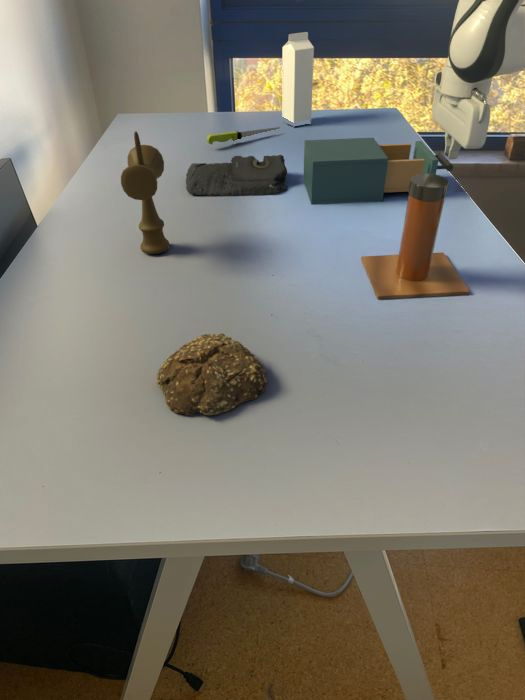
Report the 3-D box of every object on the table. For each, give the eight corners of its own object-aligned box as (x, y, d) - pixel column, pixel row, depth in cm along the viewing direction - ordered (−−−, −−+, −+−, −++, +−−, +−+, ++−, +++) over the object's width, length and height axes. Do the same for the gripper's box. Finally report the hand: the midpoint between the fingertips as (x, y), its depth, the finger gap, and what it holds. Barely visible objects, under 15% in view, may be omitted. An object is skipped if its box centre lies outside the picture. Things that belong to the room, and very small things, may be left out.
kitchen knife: (277, 137, 140) (278, 125, 138) (280, 138, 139) (281, 127, 138) (206, 147, 130) (206, 134, 128) (208, 148, 129) (208, 136, 127)
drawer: (434, 171, 114) (440, 139, 109) (452, 192, 105) (460, 158, 100) (355, 175, 113) (358, 143, 109) (366, 196, 104) (370, 162, 100)
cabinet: (368, 177, 114) (373, 137, 109) (382, 201, 104) (388, 158, 99) (303, 180, 114) (304, 140, 108) (311, 204, 104) (312, 161, 98)
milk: (311, 124, 145) (315, 33, 131) (293, 128, 143) (295, 35, 128) (299, 119, 149) (301, 30, 135) (281, 122, 147) (282, 32, 132)
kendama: (174, 235, 94) (158, 121, 82) (170, 262, 87) (151, 140, 74) (142, 237, 94) (120, 122, 82) (134, 263, 87) (110, 142, 74)
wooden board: (442, 255, 87) (443, 252, 87) (469, 294, 78) (470, 291, 78) (360, 259, 87) (361, 256, 86) (377, 299, 77) (378, 296, 77)
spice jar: (423, 263, 84) (441, 172, 74) (433, 280, 80) (454, 186, 70) (391, 265, 84) (406, 174, 74) (400, 282, 80) (416, 188, 70)
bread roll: (224, 338, 71) (222, 308, 68) (280, 387, 63) (280, 356, 60) (140, 376, 65) (133, 346, 62) (190, 436, 57) (185, 404, 54)
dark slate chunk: (189, 170, 119) (187, 149, 116) (284, 167, 120) (284, 146, 117) (183, 197, 108) (181, 175, 105) (288, 194, 108) (289, 171, 105)
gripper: (506, 96, 89) (485, 175, 98) (463, 70, 105) (448, 140, 114) (470, 97, 89) (452, 176, 98) (432, 71, 105) (420, 141, 113)
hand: (450, 156), depth 106 cm, fingers closed
